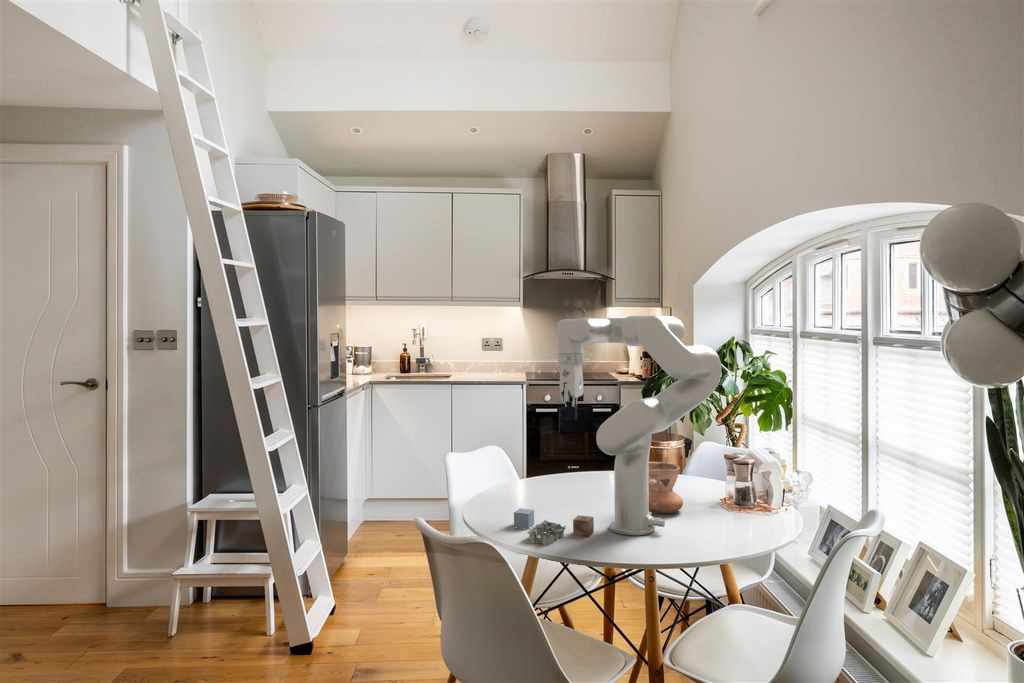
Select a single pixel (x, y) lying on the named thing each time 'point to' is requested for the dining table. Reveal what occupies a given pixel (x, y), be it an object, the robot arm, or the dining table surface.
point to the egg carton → (551, 531)
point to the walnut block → (583, 526)
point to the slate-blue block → (524, 518)
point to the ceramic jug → (663, 488)
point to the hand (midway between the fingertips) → (571, 419)
